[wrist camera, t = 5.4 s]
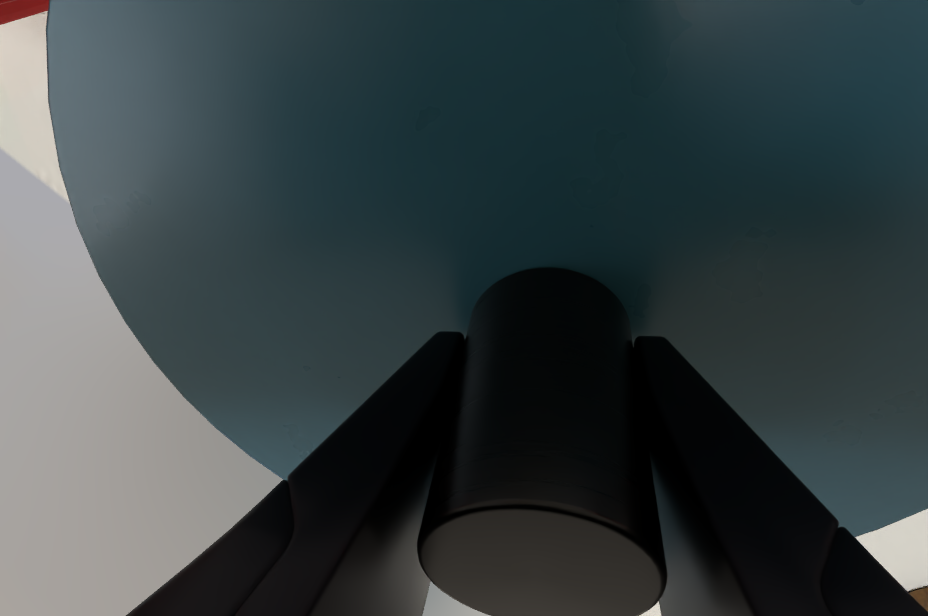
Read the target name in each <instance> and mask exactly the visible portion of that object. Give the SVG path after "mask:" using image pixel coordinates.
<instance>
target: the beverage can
mask: <svg viewBox="0 0 928 616" xmlns="http://www.w3.org/2000/svg"><path fill="white" fill-rule="evenodd" d="M48 8H49V0H0V25H1V24H5V23H8V22H11V21H15V20H18V19H21V18H25V17H28V16H31V15H35V14H38V13H41V12H45V11H48Z"/></svg>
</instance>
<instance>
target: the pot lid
mask: <svg viewBox="0 0 928 616" xmlns="http://www.w3.org/2000/svg"><path fill="white" fill-rule="evenodd" d="M46 41H47V72H48V102H49V108H50V114H51V120H52V126H53V132H54V138H55V144H56V150H57V156H58V162H59V167H60V171H61V174H62V177H63V181H64V184H65V187H66V191H67V194H68V197H69V201H70V204H71V207H72V210H73V214H74V217H75V221H76V224H77V227H78V229H79V231H80V233H81V235H82V238H83V240H84V243H85V245H86V247H87V249H88V252H89V254H90V257H91V259H92V261H93V263H94V266H95V268H96V270H97V272H98V275H99V277H100V279H101V281H102V282H103V284H104V286H105V288H106V289H107V291H108V293H109V295H110V296H111V298H112V300H113V302H114V303H115V305H116V307H117V309H118V310H119V312H120V314H121V315H122V317H123V319H124V321H125V322H126V324H127V325H128V326H129V328H130V329H131V331H132V332H133V334H134V335H135V337H136V338H137V339H138V341H139V342H140V344H141V345H142V346H143V348H144V349H145V351H146V352H147V354H148V355H149V356H150V358H151V359H152V361H153V362H154V363H155V364H156V365H157V367H158V368H159V369H160V370H161V371H162V372H163V373H164V375H165V376H166V377H167V378H168V379H169V380H170V382H171V383H172V384H173V385H174V386H175V387H176V389H177V390H178V391H179V392H180V393H181V394H182V395H183V397H184V398H185V399H186V400H187V401H189V403H191V404H192V405H193V406H194V407H195V408H196V409H197V410H198V411H199V412H200V413H201V414H202V415H203V416H204V417H205V418H206V419H207V420H208V421H209V422H210V423H211V424H212V425H213V426H214V427H215V428H216V429H217V430H219V431H220V432H221V433H222V434H224V435H225V436H226V437H227V438H228V439H230V440H231V441H232V442H233V443H235V444H236V445H237V446H238V447H239V448H241V449H242V450H243V451H244V452H245V453H247V454H248V455H249V456H250V457H252V458H253V459H255V460H256V461H258V462H259V463H260V464H262V465H263V466H265V467H266V468H268V469H269V470H271V471H272V472H273V473H275V474H276V475H278V476H279V477H281V478H282V479H283V480H287V476H288V475H289V474H290V473H291V472H292V471H293V470H294V469H295V468H296V467H297V466H298V465H299V464H300V463H301V462H302V461H303V460H304V459H305V458H306V457H307V456H309V455H310V454H311V453H312V452H313V451H314V450H315V449H316V448H317V447H318V446H319V445H320V444H321V443H322V442H323V441H324V440H325V439H326V438H327V437H328V436H329V435H330V434H331V433H332V432H333V431H335V430H336V429H337V428H338V427H339V426H340V425H341V424H342V423H343V422H344V421H345V420H346V419H347V418H348V417H349V416H350V415H351V414H352V413H353V412H354V411H355V410H356V409H357V408H358V407H359V406H361V405H362V404H363V403H364V402H365V401H366V400H367V399H368V398H369V397H370V396H371V395H372V394H373V393H374V392H375V391H376V390H377V389H378V388H379V387H380V386H381V385H382V384H383V383H384V382H385V381H387V380H388V379H389V378H390V377H391V376H392V375H393V374H394V373H395V372H396V371H397V370H398V369H399V368H400V367H401V366H402V365H403V364H404V363H405V362H406V361H407V360H408V359H409V358H410V357H411V356H413V355H414V354H415V353H416V352H417V351H418V350H419V349H420V348H421V347H422V346H423V345H424V344H425V343H426V342H427V341H428V340H429V339H430V338H431V337H432V336H433V335H434V334H436V333H437V332H439V331H457V332H461V333H462V334H463V335H464V338H465V342H464V347H463V351H462V355H461V359H460V363H459V368H458V372H457V376H456V380H455V384H454V388H453V393H452V397H451V401H450V405H449V409H448V414H447V418H446V422H445V426H444V430H443V435H442V439H441V443H440V447H439V451H438V456H437V460H436V464H435V468H434V472H433V477H432V481H431V485H430V489H429V493H428V497H427V502H426V506H425V510H424V514H423V518H422V523H421V527H420V531H419V535H418V539H417V554H418V559H419V563H420V565H421V568H422V570H423V571H424V573H425V574H426V576H427V577H428V578H429V579H430V580H431V581H432V582H433V584H435V585H436V586H437V587H438V588H439V589H440V590H441V591H443V592H444V593H446V594H447V595H449V596H450V597H452V598H453V599H455V600H457V601H459V602H460V603H462V604H464V605H466V606H469V607H470V608H472V609H475V610H477V611H480V612H482V613H485V614H488V615H491V616H639V615H641V614H643V613H644V612H646V611H648V610H649V609H650V608H652V607H653V606H654V605H655V604H656V603H657V602H658V601H659V600H660V598H661V597H662V595H663V593H664V590H665V588H666V584H667V578H668V573H667V566H666V559H665V553H664V546H663V540H662V533H661V526H660V520H659V513H658V507H657V500H656V493H655V487H654V480H653V474H652V467H651V461H650V454H649V447H648V441H647V434H646V428H645V421H644V414H643V408H642V401H641V395H640V388H639V381H638V375H637V368H636V362H635V355H634V348H633V347H634V341H635V339H636V338H637V337H638V336H662V337H664V338H666V339H667V340H668V341H669V342H670V343H671V344H672V345H673V346H674V347H675V348H676V349H677V350H678V351H679V352H680V353H681V354H682V355H683V357H684V358H685V359H686V360H687V361H688V362H689V363H690V364H691V365H692V366H693V367H694V368H695V369H696V370H697V371H698V372H699V373H700V375H701V376H702V377H703V378H704V379H705V380H706V381H707V382H708V383H709V384H710V385H711V386H712V387H713V388H714V389H715V390H716V391H717V393H718V394H719V395H720V396H721V397H722V398H723V399H724V400H725V401H726V402H727V403H728V404H729V405H730V406H731V407H732V408H733V409H734V411H735V412H736V413H737V414H738V415H739V416H740V417H741V418H742V419H743V420H744V421H745V422H746V423H747V424H748V425H749V426H750V427H751V429H752V430H753V431H754V432H755V433H756V434H757V435H758V436H759V437H760V438H761V439H762V440H763V441H764V442H765V443H766V444H767V445H768V447H769V448H770V449H771V450H772V451H773V452H774V453H775V454H776V455H777V456H778V457H779V458H780V459H781V460H782V461H783V462H784V463H785V465H786V466H787V467H788V468H789V469H790V470H791V471H792V472H793V473H794V474H795V475H796V476H797V477H798V478H799V479H800V480H801V481H802V483H803V484H804V485H805V486H806V487H807V488H808V489H809V490H810V491H811V492H812V493H813V494H814V495H815V496H816V497H817V498H818V499H819V500H820V502H821V503H822V504H823V505H824V506H825V507H826V508H827V509H828V510H829V511H830V512H831V513H832V514H833V515H834V516H835V517H836V518H837V520H838V521H839V527H845V528H846V529H847V530H848V531H849V532H850V533H851V534H852V535H853V536H854V537H856V536H859V535H862V534H865V533H868V532H871V531H874V530H877V529H880V528H882V527H885V526H887V525H890V524H892V523H894V522H897V521H899V520H902V519H904V518H906V517H909V516H911V515H914V514H916V513H918V512H921V511H923V510H926V509H928V0H49V8H48V17H47V26H46ZM287 481H288V480H287ZM839 527H838V528H839Z"/></svg>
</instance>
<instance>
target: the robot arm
mask: <svg viewBox="0 0 928 616" xmlns="http://www.w3.org/2000/svg"><path fill="white" fill-rule="evenodd" d="M464 342H465V338H464V335H463V334H462V333H461V332H457V331H439V332H437V333H436V334H434V335H433V336H432V337H431V338H430V339H429V340H428V341H427V342H426V343H425V344H424V345H423V346H422V347H421V348H420V349H419V350H418V351H417V352H416V353H415V354H414V355H413V356H411V357H410V358H409V359H408V360H407V361H406V362H405V363H404V364H403V365H402V366H401V367H400V368H399V369H398V370H397V371H396V372H395V373H394V374H393V375H392V376H391V377H390V378H389V379H388V380H387V381H385V382H384V383H383V384H382V385H381V386H380V387H379V388H378V389H377V390H376V391H375V392H374V393H373V394H372V395H371V396H370V397H369V398H368V399H367V400H366V401H365V402H364V403H363V404H362V405H361V406H359V407H358V408H357V409H356V410H355V411H354V412H353V413H352V414H351V415H350V416H349V417H348V418H347V419H346V420H345V421H344V422H343V423H342V424H341V425H340V426H339V427H338V428H337V429H336V430H335V431H333V432H332V433H331V434H330V435H329V436H328V437H327V438H326V439H325V440H324V441H323V442H322V443H321V444H320V445H319V446H318V447H317V448H316V449H315V450H314V451H313V452H312V453H311V454H310V455H309V456H307V457H306V458H305V459H304V460H303V461H302V462H301V463H300V464H299V465H298V466H297V467H296V468H295V469H294V470H293V471H292V472H291V473H290V474H289V475H288V476H287V480H288V481H287V480H283V481H281V482H280V483H279V484H278V485H277V486H276V487H275V488H274V489H273V490H272V491H271V492H270V493H269V494H268V495H267V496H266V497H265V498H264V499H262V500H261V502H259V503H258V504H257V505H256V506H255V507H254V508H253V509H252V510H251V511H249V512H248V514H246V515H245V516H244V517H243V518H242V519H241V520H240V521H239V522H237V524H235V525H234V526H233V527H232V528H231V529H230V530H229V531H228V532H226V533H225V534H224V535H223V536H222V537H220V538H219V539H218V540H217V541H216V542H215V543H213V544H212V545H211V546H210V547H209V548H208V549H206V550H205V551H204V552H203V553H202V554H201V555H199V556H198V557H197V558H196V559H195V560H193V561H192V562H191V563H190V564H189V565H187V566H186V567H185V568H184V569H182V570H181V571H180V572H179V573H178V574H177V575H175V576H174V577H173V578H171V579H170V580H169V581H168V582H167V583H165V584H164V585H163V586H162V587H160V588H159V589H158V590H157V591H156V592H154V593H153V594H152V595H151V596H149V597H148V598H147V599H146V600H145V601H143V602H142V603H141V604H140V605H138V606H137V607H136V608H135V609H133V610H132V611H131V612H130V613H129V614H127V615H126V616H422V614H423V610H424V606H425V602H426V598H427V593H428V590H429V586H430V582H431V580H430V579H429V578H428V577H427V576H426V574H425V573H424V571H423V570H422V568H421V565H420V563H419V559H418V554H417V539H418V535H419V531H420V527H421V523H422V518H423V514H424V510H425V506H426V502H427V497H428V493H429V489H430V485H431V481H432V477H433V472H434V468H435V464H436V460H437V456H438V451H439V447H440V443H441V439H442V435H443V430H444V426H445V422H446V418H447V414H448V409H449V405H450V401H451V397H452V393H453V388H454V384H455V380H456V376H457V372H458V368H459V363H460V359H461V355H462V351H463V347H464ZM633 348H634V355H635V362H636V368H637V375H638V381H639V388H640V395H641V401H642V408H643V414H644V421H645V428H646V434H647V441H648V447H649V454H650V461H651V467H652V474H653V480H654V487H655V493H656V500H657V507H658V513H659V520H660V526H661V533H662V540H663V546H664V553H665V559H666V566H667V573H668V578H667V584H666V588H665V590H664V593H663V595H662V597H661V598H660V600H659V604H660V610H661V615H662V616H928V611H927V610H926V609H924V608H923V607H922V606H921V605H920V604H919V603H918V602H917V601H916V600H915V599H914V598H913V597H912V596H911V595H910V594H909V593H908V592H907V591H906V590H905V589H904V588H903V587H902V586H901V585H900V584H899V583H898V582H897V581H896V580H895V579H894V577H893V576H892V575H891V574H890V573H889V572H888V571H887V570H886V569H885V568H884V567H883V566H882V565H881V564H880V563H879V562H878V561H877V560H876V559H875V558H874V557H873V556H872V555H871V554H870V553H869V552H868V551H867V550H866V549H865V548H864V547H863V546H862V545H861V544H860V542H859V541H858V540H857V539H856V538H855V537H854V536H853V535H852V534H851V533H850V532H849V531H848V530H847V529H846V528H845V527H839V521H838V520H837V518H836V517H835V516H834V515H833V514H832V513H831V512H830V511H829V510H828V509H827V508H826V507H825V506H824V505H823V504H822V503H821V502H820V500H819V499H818V498H817V497H816V496H815V495H814V494H813V493H812V492H811V491H810V490H809V489H808V488H807V487H806V486H805V485H804V484H803V483H802V481H801V480H800V479H799V478H798V477H797V476H796V475H795V474H794V473H793V472H792V471H791V470H790V469H789V468H788V467H787V466H786V465H785V463H784V462H783V461H782V460H781V459H780V458H779V457H778V456H777V455H776V454H775V453H774V452H773V451H772V450H771V449H770V448H769V447H768V445H767V444H766V443H765V442H764V441H763V440H762V439H761V438H760V437H759V436H758V435H757V434H756V433H755V432H754V431H753V430H752V429H751V427H750V426H749V425H748V424H747V423H746V422H745V421H744V420H743V419H742V418H741V417H740V416H739V415H738V414H737V413H736V412H735V411H734V409H733V408H732V407H731V406H730V405H729V404H728V403H727V402H726V401H725V400H724V399H723V398H722V397H721V396H720V395H719V394H718V393H717V391H716V390H715V389H714V388H713V387H712V386H711V385H710V384H709V383H708V382H707V381H706V380H705V379H704V378H703V377H702V376H701V375H700V373H699V372H698V371H697V370H696V369H695V368H694V367H693V366H692V365H691V364H690V363H689V362H688V361H687V360H686V359H685V358H684V357H683V355H682V354H681V353H680V352H679V351H678V350H677V349H676V348H675V347H674V346H673V345H672V344H671V343H670V342H669V341H668V340H667V339H666V338H664V337H662V336H638V337H637V338H636V339H635V341H634V347H633ZM838 527H839V528H838Z"/></svg>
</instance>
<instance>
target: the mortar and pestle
mask: <svg viewBox="0 0 928 616" xmlns="http://www.w3.org/2000/svg"><path fill="white" fill-rule="evenodd" d="M909 594H910V595H911V596H912V597H913V598H914V599H915V600H916V601H917V602H918V603H919V604H920V605H921V606H922V607H923V608H924V609H926V610H927V611H928V587H927V588H923V589H919V590H915V591H912V592H909Z"/></svg>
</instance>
